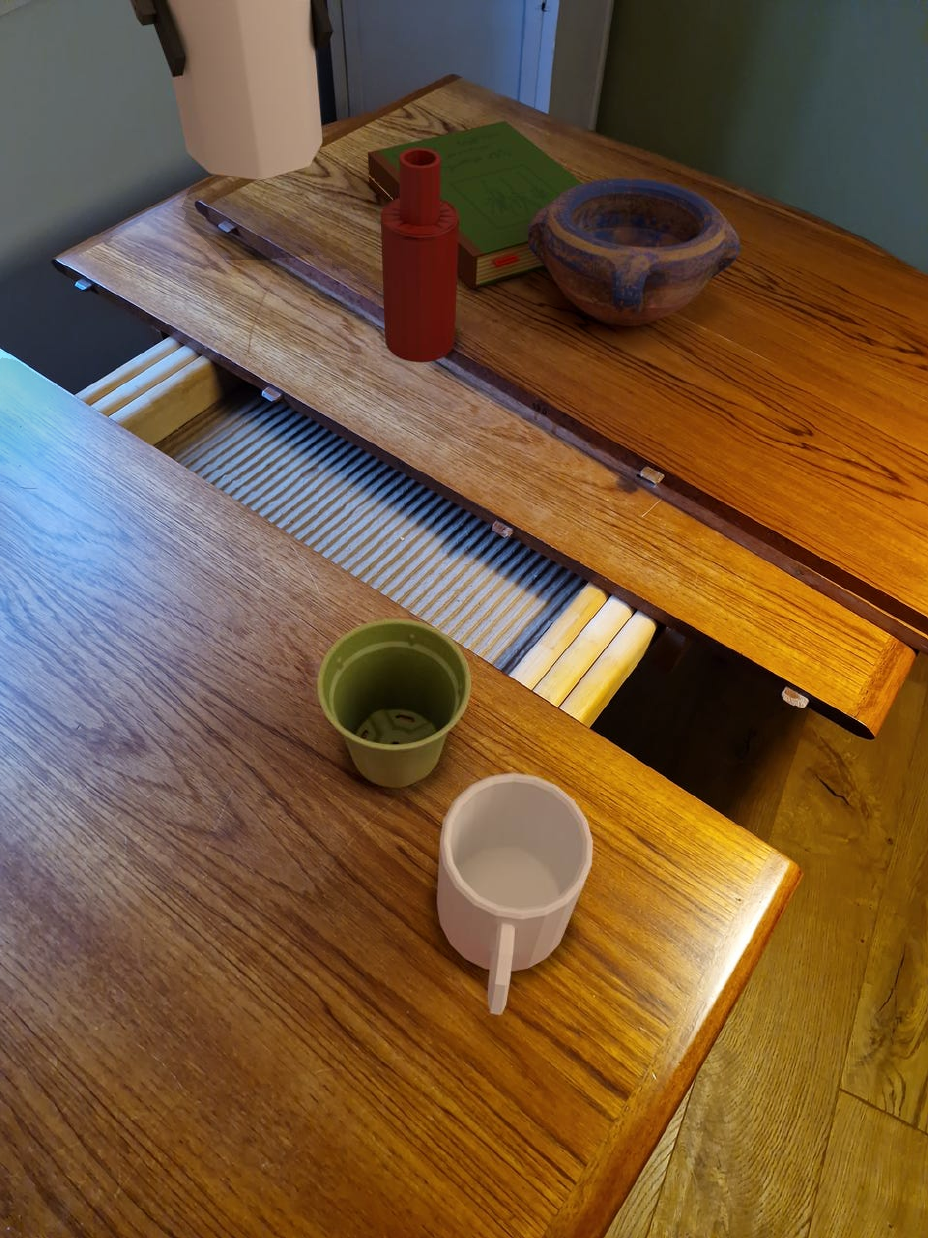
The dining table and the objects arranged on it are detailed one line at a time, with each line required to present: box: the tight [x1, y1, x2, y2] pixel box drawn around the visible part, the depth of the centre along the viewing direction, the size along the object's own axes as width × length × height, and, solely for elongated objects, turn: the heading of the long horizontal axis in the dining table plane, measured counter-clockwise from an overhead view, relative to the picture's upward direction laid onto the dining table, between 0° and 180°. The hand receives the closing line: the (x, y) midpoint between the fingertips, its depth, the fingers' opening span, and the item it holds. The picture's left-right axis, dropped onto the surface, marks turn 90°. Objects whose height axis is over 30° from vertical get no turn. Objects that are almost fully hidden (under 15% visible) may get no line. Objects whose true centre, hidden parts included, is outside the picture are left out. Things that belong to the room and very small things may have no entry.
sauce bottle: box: [380, 148, 459, 363], centre depth 82 cm, size 7×7×18 cm
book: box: [367, 120, 584, 290], centre depth 102 cm, size 25×19×4 cm
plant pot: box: [316, 618, 472, 789], centre depth 58 cm, size 9×9×9 cm
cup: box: [166, 0, 323, 182], centre depth 67 cm, size 11×11×18 cm
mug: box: [436, 772, 594, 1016], centre depth 50 cm, size 8×12×10 cm
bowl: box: [527, 177, 742, 327], centre depth 90 cm, size 18×18×10 cm
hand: (254, 53), depth 67 cm, fingers closed on cup, 11 cm apart
